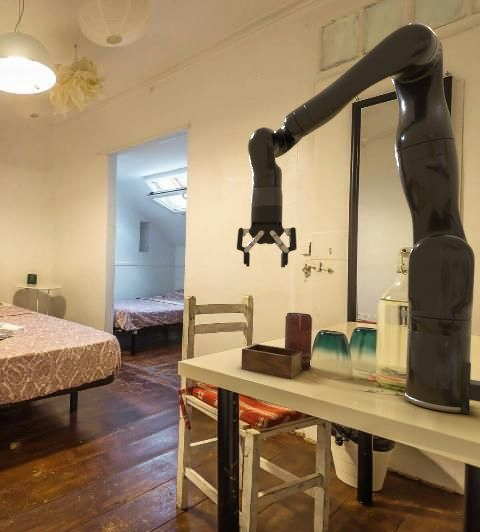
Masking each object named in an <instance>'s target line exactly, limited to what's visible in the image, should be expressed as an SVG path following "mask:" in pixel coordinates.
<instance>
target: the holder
mask: <svg viewBox="0 0 480 532" xmlns="http://www.w3.org/2000/svg"><path fill="white" fill-rule="evenodd" d="M240 367H241V370H245V371H251V372H255V373H259V374H260V373H261V374H266V375H270V376H277V377H280V378H285V379H290V380H291V379H293V378H294V377H296V376H297V375H298V374H300V373H301V372H302V371H303V370H302V351H300V350H294V349H287V348H285V347H280V346H275V345H268V344H261V343H253V344H251V345H248V346H245V347H243V348H241V366H240Z"/></svg>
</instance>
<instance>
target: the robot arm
mask: <svg viewBox="0 0 480 532" xmlns="http://www.w3.org/2000/svg"><path fill="white" fill-rule="evenodd" d="M388 78H390V79H391V81H392V84H393V87H394V91H395V95H396V99H397V104H398V105H397V106H398V118H397V123H396V128H395V135H394V155H395V162H396V169H397V174H398V178H399V182H400V186H401V190H402V193H403V195H404V198H405V201H406V204H407V206H408V209H409V213H410V217H411V225H412V248H411V250H410V253H409V255H408V264H407V265H408V266H407V267H408V269H407V270H408V271H407V272H408V273H407V309H408V310H407V331H406V335H407V337H406V359H405V360H406V361H405V362H406V363H405V386H404V400H405V401H407V402H408V403H410V404H413V405H416V406H419V407H422V408H425V409H430V410H433V411H440V412H446V413H454V414H455V413H457V414H464V415H470V405H471V404H470V403H471V401H473V402H480V380H476V379H472V378H471V377H472V376H471V375H472V363H471V352H472V351H471V350H472V349H471V348H472V325H473V324H472V322H473V321H472V319H473V310H474V309H473V308H474V289H475V272H476V271H475V268H476V256H475V252H474V249H473V247H472V246H471V245H470V244H469V242H468V239H467V236H466V233H465V230H464V226H463V222H462V218H461V213H460V204H459V203H460V202H459V201H460V200H459V199H460V161H459V154H458V153H459V152H458V147H457V140H456V134H455V130H454V127H453V123H452V118H451V114H450V110H449V107H448V104H447V100H446V96H445V88H444V46H443V43H442V40H441V39H440V37H439V36H438V35H437V34H436V32H434V31H433V29H432V28H430V27H429V26H428V25H426V24H424V23H419V22H413V23H409V24H404V25H402V26H399V27H398V28H396V29H395V30H394V31H392V32H391V33H390V34H388V35H387V36H386V37H384V38H383V39H382V40H381V41H379V42H378V43H377V44H376V45H375V46H374V47H373V48H372V49H370V50H369V52H367V53H366V54H365V55H364V56H362V58H360V59H359V60H358V61H357V62H356V63H354V64H353V65H352V66H351V67H350V68H349V69H347V70H346V71H345V72H344V73H343V74H342V75H340V76H339V77H338V78H336V79H335V80H334V81H333V82H332V83H330V84H329V85H327V86H326V87H325V88H324V89H322V90H321V91H319V92H318V93H317V94H316V95H314V96H312V97H311V98H309V99H308V100H306V101H305V102H304V103H302V104H301V105H299V106H298V107H296V108H295V109H293V110H292V111H291V112H289V113H288V114H287V115H286V116H285V117H284V119H283V125H282V126H281V127H279V128H278V129H277V130H275V129H273V128H269V127H259V128H257V129H255V130H254V131H253V132H252V134H251V135H250V137H249V139H248V142H247V153H248V158H249V164H250V167H251V171H252V189H251V190H252V191H251V199H250V227H249V228H243V227H239V228H238V229H237V238H236V250H237V251H239V252H242V253H243V261H242V263H243V265H245V267H246V268H249V267H250V265H251V263H250V260H251V259H250V258H251V257H250V256H251V253H250V251H251V250H252V249H253V247H254V246H255V245H256V244H258V245H273V244H275V245H276V246H277V247H278V249H280V251H281V253H280V268H286V266H288V264H289V253H290V252H294V251H297V249H298V248H297V247H298V246H297V245H298V244H297V228H296V227H294V226H292V227H287V228H284V226H283V204H284V203H283V202H284V201H283V199H284V197H283V196H284V195H283V171H282V168H281V166H279V164H277V161H276V158H280V157H281V156H283V155H286V154H287V153H288V152H289V151H291V150H292V149H293V148H294V147H295V146H296V145H297V144H299V142H300V141H301V140H302V139H303V138H305V137H306V136H308V135H310V134H312V133H313V132H315V131H316V130H319V129H320V128H322V127H323V126H325V125H326V124H328V123H330V122H331V121H332V120H333V119H335V117H337V116H338V115H339V114H340V113H341V112H342V111H343V110H345V108H347V106H348V105H349V104H350V103H351V102H352V101H353V100H355V99H356V97H358V96H360V95H361V94H362V93H363V92H365V91H366V90H367V89H369V88H371V87H372V86H375V85H376V84H378V83H380V82H382V81H384V80H386V79H388ZM284 233H285V235H286V237H288V240H289V244H288V245H289V246H288V247H287V246H286V244H285V243H284V241H283V240H282V239H281V237H282V236H283V234H284ZM247 234H249V236H250V237H251V238H252V239H251V240H250V241H249V243H248V244H247V245H246V246H243V240H244V237H246V236H247Z"/></svg>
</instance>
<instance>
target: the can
mask: <svg viewBox="0 0 480 532" xmlns="http://www.w3.org/2000/svg"><path fill="white" fill-rule="evenodd" d="M284 322H285V323H284V325H285V327H284V348H287V349H294V350H300V351H302V371H306V370H310V369H311V366H312V364H311V365H310V360H311V361H312V338H313V335H312V334H313V317H312V316H311V314H309V313H302V312H286V315H285V321H284Z"/></svg>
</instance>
